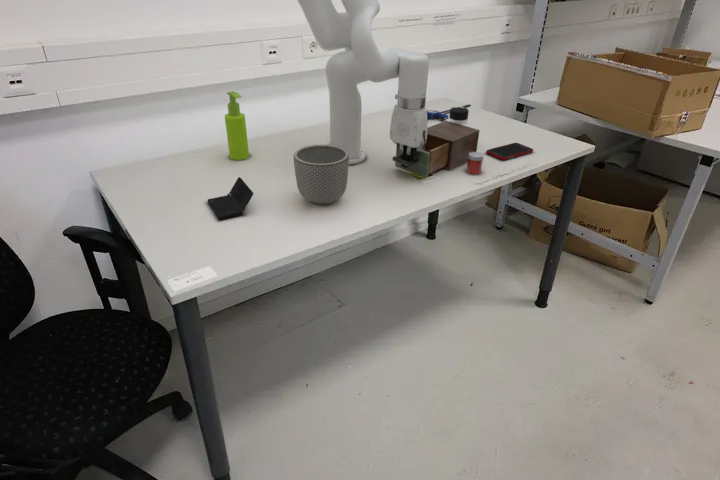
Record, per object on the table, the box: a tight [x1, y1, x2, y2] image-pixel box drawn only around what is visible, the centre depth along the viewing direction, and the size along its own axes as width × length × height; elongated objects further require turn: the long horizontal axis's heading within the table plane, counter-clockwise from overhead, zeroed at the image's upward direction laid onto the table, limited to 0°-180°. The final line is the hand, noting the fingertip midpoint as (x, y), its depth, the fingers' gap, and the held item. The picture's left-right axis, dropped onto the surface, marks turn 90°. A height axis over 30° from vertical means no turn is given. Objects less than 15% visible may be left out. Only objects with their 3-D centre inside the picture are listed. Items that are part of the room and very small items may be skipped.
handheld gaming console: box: [207, 176, 254, 221], centre depth 123 cm, size 12×7×10 cm
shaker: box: [465, 151, 484, 175], centre depth 145 cm, size 4×4×6 cm
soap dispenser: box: [224, 91, 250, 161], centre depth 148 cm, size 6×7×20 cm
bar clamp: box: [427, 104, 472, 121], centre depth 195 cm, size 32×2×10 cm
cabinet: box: [427, 120, 481, 171], centre depth 153 cm, size 15×13×9 cm
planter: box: [293, 143, 350, 207], centre depth 125 cm, size 14×14×13 cm
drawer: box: [392, 136, 451, 179], centre depth 144 cm, size 18×11×7 cm, turn 137°
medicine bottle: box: [445, 106, 471, 127], centre depth 164 cm, size 7×7×12 cm
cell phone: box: [485, 142, 534, 161], centre depth 160 cm, size 8×15×1 cm, turn 123°
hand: (406, 165), depth 141 cm, fingers closed
